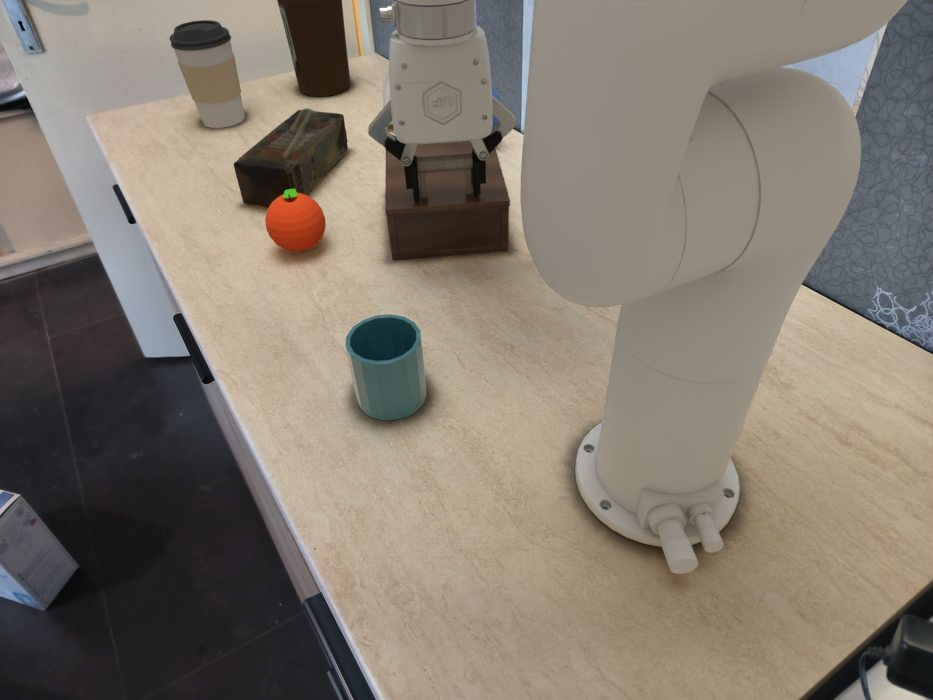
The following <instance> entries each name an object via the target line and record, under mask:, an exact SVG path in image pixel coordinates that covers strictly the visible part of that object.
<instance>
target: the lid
mask: <svg viewBox="0 0 933 700" xmlns="http://www.w3.org/2000/svg"><path fill="white" fill-rule="evenodd" d="M472 149H473V146H472V144H471V142H470V141H463V142H449V143H434V144H418V145H417V148H416V151H415V156H416V158H417V169H418V178H419V191H420V198H418V199H414V197H413V189H406V180H405V170H404V165H402V164H401V161H400V160H399V159H397V158H396V157H395V156H394V155H392V154H391V153H390V152H388V151H387V150H386V149H385V180H384V181H385V185H384V189H385V191H384V194H385V195H384V198H385V199H384V201H385V202H384V210H385V216H386V217H387V215H401V214H414V213H428V212H441V211H455V210H468V209H482V208H495V207H509V208H510V207H511V199H510V195H509V191H508V189H507V185H506V181H505V177H504V174H503V170H502V167H501V164H500V159H499V156H498V152H497V147H496V148H495V149H494V150H493V151H492V152H491V153H490V154H489V157H488V159H487V160H486V183H485V184H480V189H481V194H480V195H476V194H474V191H473V186H472V176H471V169H473V157H472Z"/></svg>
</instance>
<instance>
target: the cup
mask: <svg viewBox="0 0 933 700" xmlns="http://www.w3.org/2000/svg"><path fill="white" fill-rule="evenodd" d="M345 350H346V355H347V359H348V364H349V369H350V374H351V379H352V384H353V388H354V393H355V398H356V401H357V404H358V407H359V408H360V409H361V411H362V412H363V413H364V414H365V415H367V416H369V417H371V418H372V419H376V420H379V421H387V422H388V421H389V422H390V421H398V420H403V419H405V418H407V417H409V416H411V415H413V414H416V412H417V411H419V410H420V408H421V407H422V406H423V405H424V403H425V401H426V398H427V395H428V394H427V393H428V392H427V391H428V390H427V380H426V372H425V370H426V369H425V361H424V352H423V342H422V333H421V329H420V328H419V326H418V325H417V324H416V323H415V322H414V321H413V320H412V319H410V318H408V317H406V316H402V315H397V314H392V313H391V314H378V315H374V316H370V317H368V318H365V319H364V318H363V319H362V320H360V322H358V323H356V325H353V326H352V327H351V329H350V330H349V331H348V333H347V334H346V337H345Z"/></svg>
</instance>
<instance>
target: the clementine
mask: <svg viewBox="0 0 933 700" xmlns="http://www.w3.org/2000/svg"><path fill="white" fill-rule="evenodd" d="M264 219H265V229H266V231H267V234H268V236H269V238H270V239H271V240H272V241H273V242H274V243H275V244H276V246H277V247H280V248H281V249H283V250H284V251H288V252H294V253H301V252H305V251H309V250H311V249H313V248H314V247H316V246H317V245H318V244H319V243H320V241H321V240H322V238H323V237H324V235H325V231H326V227H327V226H326V217H325V213H324V210H323V208H322V207H321V206H320V204H319V203H318V202H317V201H316V200H315V199H314V198H312V197H311V196H309V195H308V194H307V195H304V194H301V193H297V192H296V189H288V190H285V192H284V194H283V195H281V196H279V197H278V198H277V199H275V200H274V201H273V202H272V203H271V205H270V206H269V207H267V210H266V214H265V218H264Z"/></svg>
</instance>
